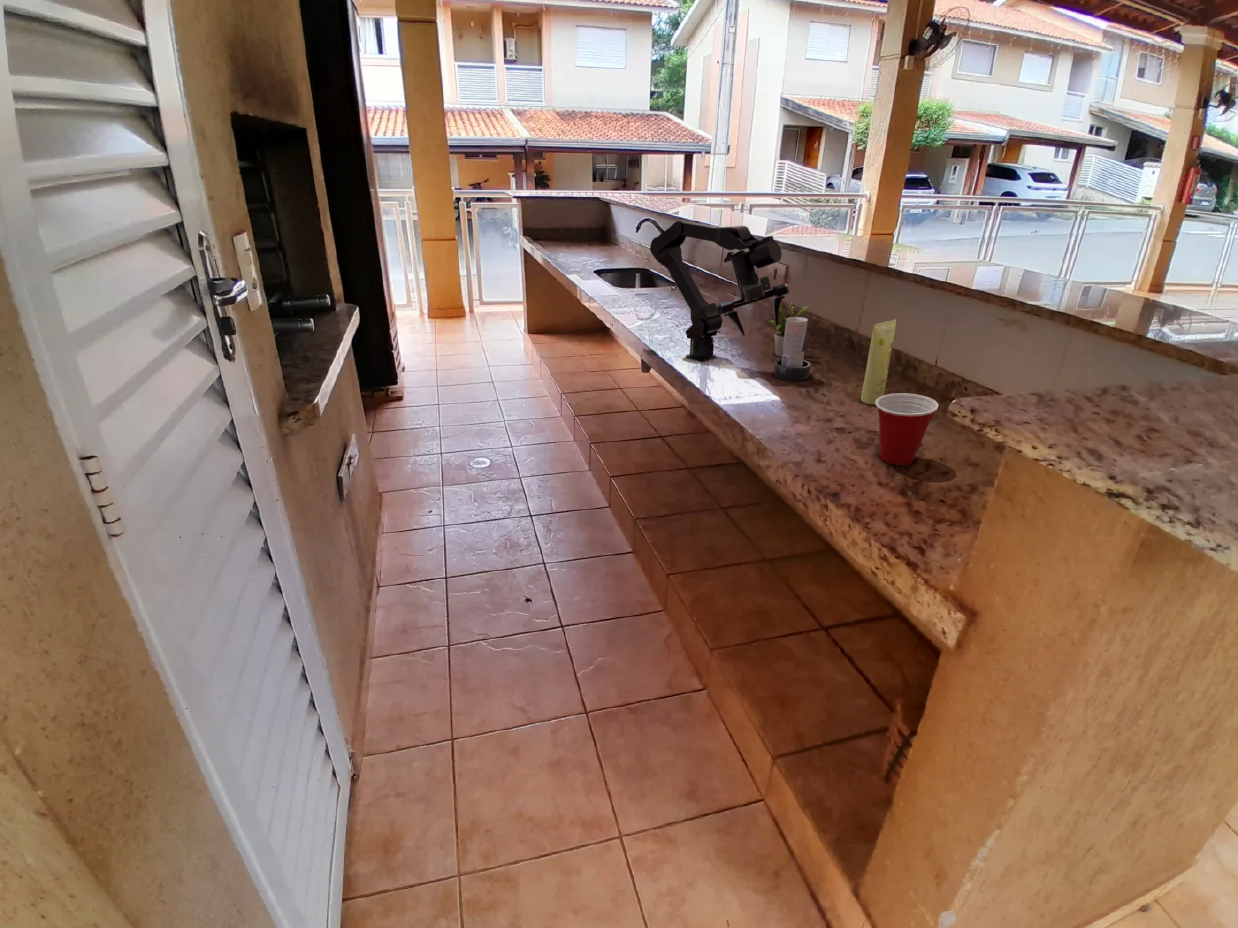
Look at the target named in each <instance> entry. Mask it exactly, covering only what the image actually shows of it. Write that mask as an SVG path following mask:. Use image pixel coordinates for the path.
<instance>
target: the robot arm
mask: <svg viewBox="0 0 1238 928" xmlns="http://www.w3.org/2000/svg"><path fill="white" fill-rule="evenodd" d="M686 238H691V239H697V240H703V241H708V242H712V243H715V244H716V245H717V246H718V247H720V248H723V249H725V250H727V251H728V252H727V253H726V256H725V257H724V259H723V263H731V266H732V270H733V274H734V277H735V281H736V286H737V289H738V293H739V297H740V299H739V300H735V301H734V300H733V299H730V300H727V301H723V302H721V303H719V304H718V305H717V304H716V302H712V303H709V302H707V301H706V300H705V298H704V297H703V295H702V293H701V290H700V289H699V288H698V285H697V284H696V282H695V280H694V279H693V277H692V275H691V273H690V272H689V270H688V268H687V266H686V264H685V263H684V261H683V258H682V257H683V255H682V248H681V246H682V245H683V244H684V243H685V241H686ZM734 250H738V251H736V252H734ZM745 250H748V251H745ZM649 251H650V254H651V255H652V256H653V258H654V259H655V260H656V261H657V263H659V264H660V265H662V267H664V268H666V270H667V271H668V273H669V275H670V276H671V278H672V280H673V281H674V283H675V285H676V288H677V289H678V290H679V292H680V293H681V296H682V298H683V299H684V301H685V303H686V304H687V306H688V308H689V310H690V322H691V325H690V326H689V327H688V328H687V329H686V330H685V336H686V339H689V354H686V355H685V357H686V358H688V359H692V360H696V361H701V362H704V361H707V360H710V359H713V358H716V356H717V355H716V354H714V352H715V351H714V349H715V348H714V347H715V344H714V343H715V342H714V336H718V332H719V330H720V329H721V328H722V325H723V318H722V315H723V316H724V317H728V318H729V319H730V320H731V321H732V322H733V324H734V325H735V326H736V328H737V329H738V330H739V332H740V334H741V335H742V336H743V337H745V336H746V335H745V331H744V327H743V324H742V323H741V320H740V317H739V314H738V311H737V310H736V309H737V308H740V307H744V306H746V305H749V304H753V303H756V302H761V301H763V300H766V299H769V298H771V300H770V304H771V305H770V306H771V310H772V312H773V313H772V316H773V320H774V321H775V323H774V324H776V325H775V327H777V326H778V324H779V323H778V319H779V318H780V315H779V308H780V309H781V306H780V304H781V303H782V300H784V299H785V298H786V296H785V295H788V294H790V289H789V286H788V284H786V283H785V282H784V283H781V284H778V285H775V286H772V287H771V282H770V278H769V276H768V275H766V276H763V277H760V279H759V275H758V271H757V269H763V268H765V267H768V266H770V265H773V264H776V263H779V262H780V261H781V260H782V257H783V256H782V255H783V254H782V248H781V247H780V245H779V244H778V242H777V241H776V240H775V239H774V236H773V235H768V236H765V237H764V238H762V239H760V240H759V239H758V238H757V237H755V235H753V233H751V231H750V229H749V227H748V226H746V225H730V226H719V225H712V224H707V223H700V222H697V221H696V222H695V221H690V220H689V219H682V220H681V219H680V220H675V221H674V222H673V223H672V225H670V227H667V229H665V230H663V231H662V232H661V233H660V234H659V235H658V236H656V237H655V236H654V238H653V239H652V240H651V242H650V246H649Z"/></svg>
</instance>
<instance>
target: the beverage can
mask: <svg viewBox="0 0 1238 928" xmlns="http://www.w3.org/2000/svg"><path fill="white" fill-rule="evenodd" d="M785 318H786V317H785ZM808 321H809V319H808V318H805V317H802V316H801V317H800V316H799V317H795V316H792V317H789V318H786V325H785V334H784V343H783V353H782V357H781V359H782V362H781V366H785V367H792V368H800V367H802V366H803V360H804V356H805V349H806V342H807V341H806V340H807V331H808Z"/></svg>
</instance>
